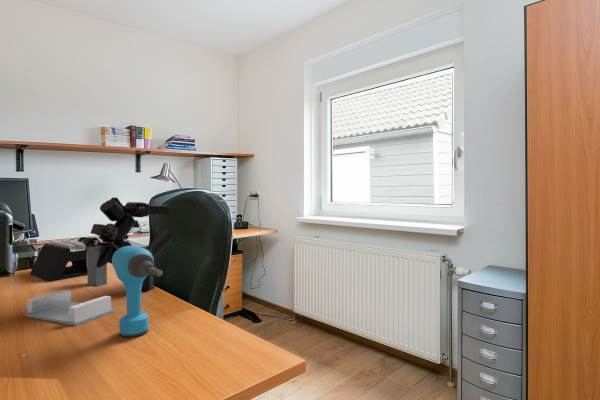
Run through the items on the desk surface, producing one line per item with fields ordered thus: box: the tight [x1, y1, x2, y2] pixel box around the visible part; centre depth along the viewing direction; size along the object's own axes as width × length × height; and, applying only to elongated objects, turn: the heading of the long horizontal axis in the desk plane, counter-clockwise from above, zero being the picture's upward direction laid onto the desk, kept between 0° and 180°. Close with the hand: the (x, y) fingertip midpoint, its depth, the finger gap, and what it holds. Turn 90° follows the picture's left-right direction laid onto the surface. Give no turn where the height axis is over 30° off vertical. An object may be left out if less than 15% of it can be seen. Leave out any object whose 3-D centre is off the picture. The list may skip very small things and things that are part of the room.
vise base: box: [25, 295, 116, 327], centre depth 110 cm, size 22×13×5 cm, turn 69°
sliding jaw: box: [26, 289, 72, 314], centre depth 113 cm, size 2×12×4 cm, turn 159°
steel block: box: [87, 245, 108, 288], centre depth 118 cm, size 4×4×13 cm
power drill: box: [111, 245, 163, 338], centre depth 91 cm, size 28×9×23 cm, turn 43°
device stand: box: [29, 239, 88, 283], centre depth 164 cm, size 22×22×15 cm
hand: (93, 266), depth 117 cm, fingers closed on steel block, 4 cm apart
